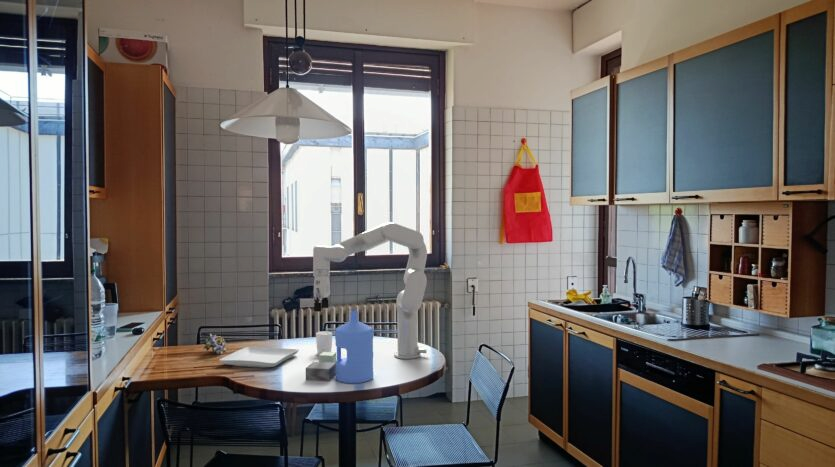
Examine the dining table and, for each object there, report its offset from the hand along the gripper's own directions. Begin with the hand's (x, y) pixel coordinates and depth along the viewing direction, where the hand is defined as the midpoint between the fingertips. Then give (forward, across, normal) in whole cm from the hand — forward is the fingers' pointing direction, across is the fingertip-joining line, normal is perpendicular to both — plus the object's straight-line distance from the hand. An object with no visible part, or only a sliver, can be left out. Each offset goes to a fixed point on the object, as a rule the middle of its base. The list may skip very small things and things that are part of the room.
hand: (321, 309), depth 272 cm
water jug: (+24, -25, -24) cm, 42 cm away
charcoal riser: (+24, -26, -9) cm, 36 cm away
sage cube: (+24, -10, -7) cm, 27 cm away
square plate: (+25, -5, +28) cm, 37 cm away
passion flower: (+25, +4, +56) cm, 61 cm away
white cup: (+24, +14, +3) cm, 28 cm away
